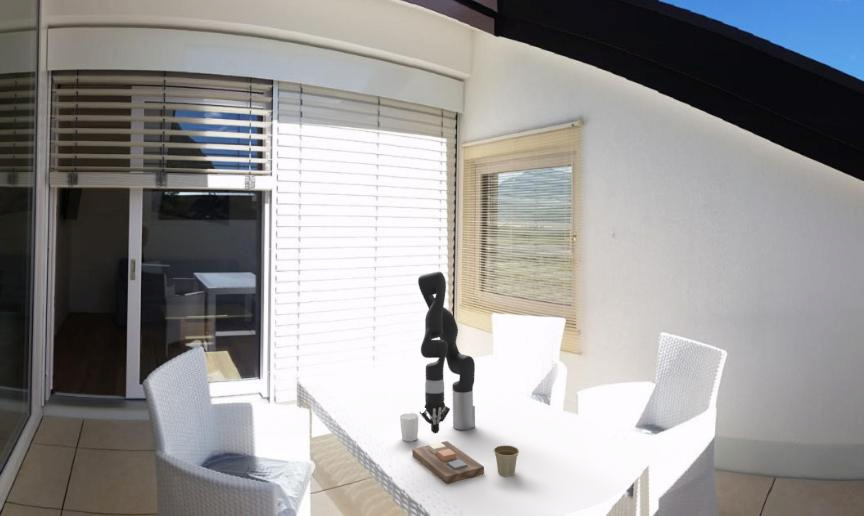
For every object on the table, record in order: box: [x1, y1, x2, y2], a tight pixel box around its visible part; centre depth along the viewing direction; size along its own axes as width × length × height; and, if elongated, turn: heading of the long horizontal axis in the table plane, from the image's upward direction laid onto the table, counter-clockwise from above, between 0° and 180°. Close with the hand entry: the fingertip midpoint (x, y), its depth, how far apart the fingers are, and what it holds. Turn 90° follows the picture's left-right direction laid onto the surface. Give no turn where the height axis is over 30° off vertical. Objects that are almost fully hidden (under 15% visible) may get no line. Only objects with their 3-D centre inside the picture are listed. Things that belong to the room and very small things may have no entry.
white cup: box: [399, 412, 419, 442], centre depth 244 cm, size 8×8×10 cm
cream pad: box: [427, 441, 446, 454], centre depth 224 cm, size 5×5×3 cm
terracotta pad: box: [438, 449, 456, 462], centre depth 217 cm, size 5×5×3 cm
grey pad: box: [448, 459, 467, 470], centre depth 210 cm, size 5×5×3 cm
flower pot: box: [493, 444, 520, 477], centre depth 209 cm, size 9×9×9 cm
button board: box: [411, 440, 485, 486], centre depth 217 cm, size 16×28×3 cm, turn 28°
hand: (435, 432), depth 223 cm, fingers closed
